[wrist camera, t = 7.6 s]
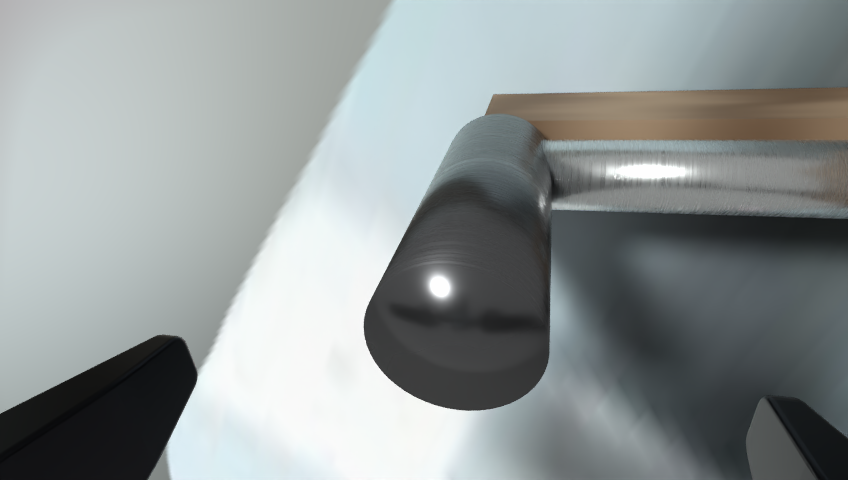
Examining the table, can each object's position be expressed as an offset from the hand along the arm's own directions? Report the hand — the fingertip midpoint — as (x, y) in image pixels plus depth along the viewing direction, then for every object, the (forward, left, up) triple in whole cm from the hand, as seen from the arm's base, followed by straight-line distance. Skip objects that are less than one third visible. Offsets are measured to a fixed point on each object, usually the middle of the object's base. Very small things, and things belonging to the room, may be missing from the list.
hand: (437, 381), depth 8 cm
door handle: (-4, -4, -9) cm, 11 cm away
